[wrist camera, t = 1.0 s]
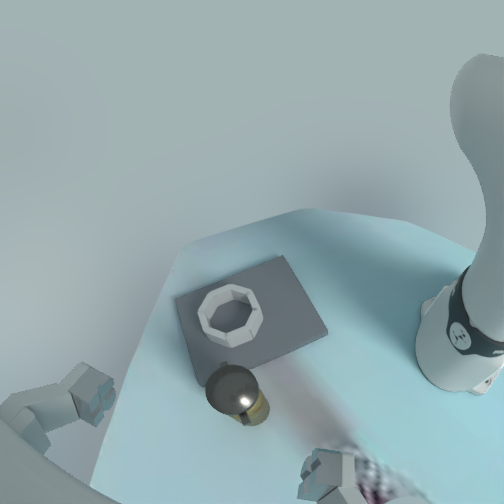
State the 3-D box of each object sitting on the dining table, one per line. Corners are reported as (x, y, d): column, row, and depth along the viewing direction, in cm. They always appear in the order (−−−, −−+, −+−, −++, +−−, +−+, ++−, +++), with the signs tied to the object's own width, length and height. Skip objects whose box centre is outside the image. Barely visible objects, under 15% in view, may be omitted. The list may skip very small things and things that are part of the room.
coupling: (224, 392, 39) (196, 366, 30) (259, 379, 39) (243, 348, 30) (242, 439, 34) (218, 430, 25) (280, 425, 34) (269, 412, 25)
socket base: (283, 260, 52) (281, 243, 49) (327, 334, 42) (329, 321, 39) (178, 303, 50) (168, 289, 47) (202, 386, 40) (191, 378, 36)
